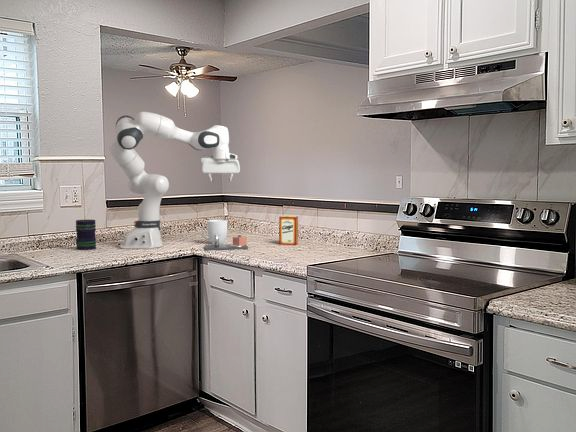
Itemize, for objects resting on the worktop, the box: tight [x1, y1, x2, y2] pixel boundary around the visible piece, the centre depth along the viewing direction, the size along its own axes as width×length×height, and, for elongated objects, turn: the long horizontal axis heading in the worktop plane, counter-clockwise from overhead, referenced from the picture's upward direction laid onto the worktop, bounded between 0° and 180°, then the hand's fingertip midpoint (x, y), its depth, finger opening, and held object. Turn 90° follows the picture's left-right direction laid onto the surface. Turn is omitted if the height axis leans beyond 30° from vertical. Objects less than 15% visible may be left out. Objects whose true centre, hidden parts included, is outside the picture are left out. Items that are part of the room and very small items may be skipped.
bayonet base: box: [204, 235, 249, 251], centre depth 299 cm, size 22×12×7 cm, turn 102°
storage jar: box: [75, 219, 97, 251], centre depth 295 cm, size 10×10×15 cm
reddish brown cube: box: [232, 234, 248, 246], centre depth 301 cm, size 5×5×5 cm
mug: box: [200, 219, 228, 245], centre depth 316 cm, size 15×11×13 cm
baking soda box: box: [278, 214, 299, 246], centre depth 315 cm, size 10×6×16 cm
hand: (220, 181), depth 302 cm, fingers open, 8 cm apart
